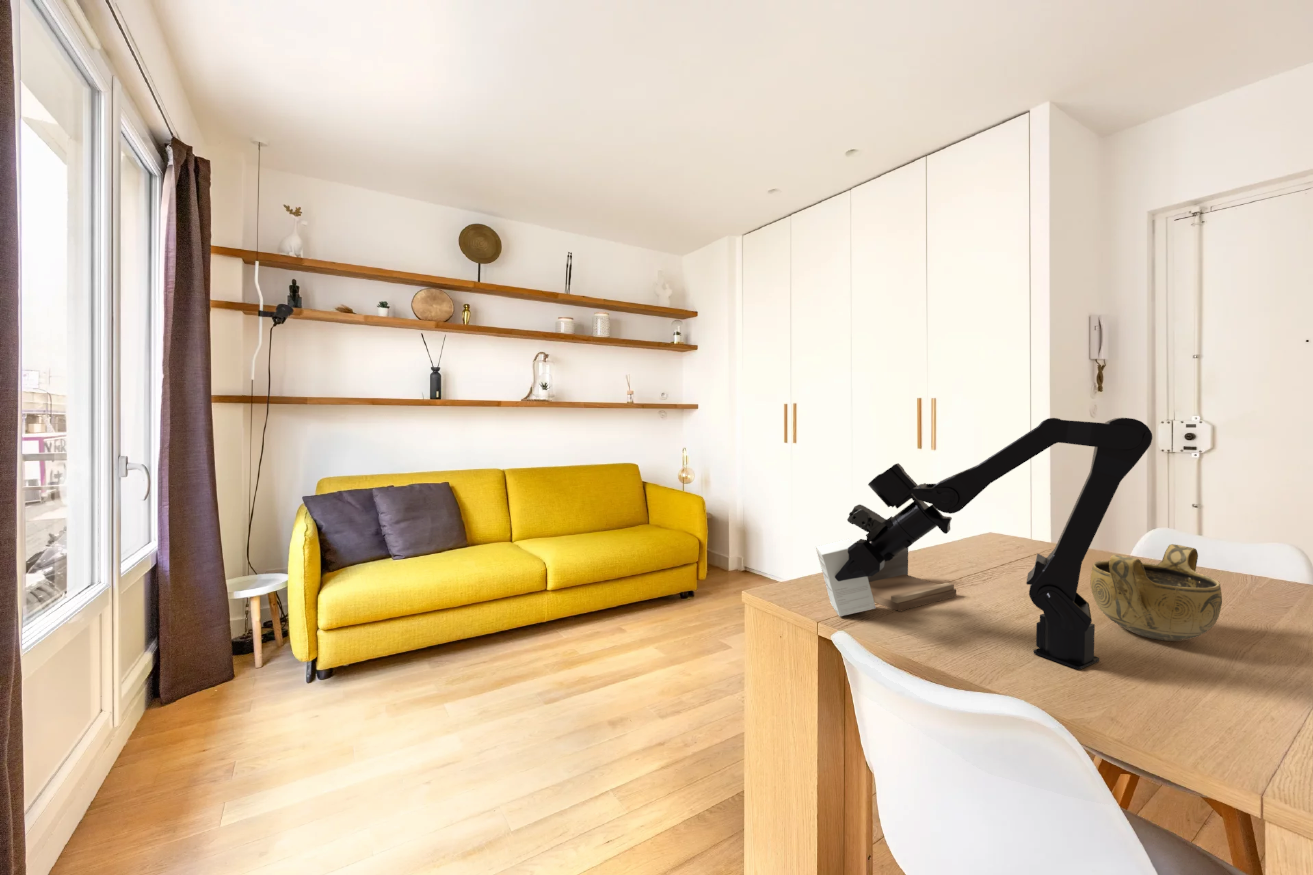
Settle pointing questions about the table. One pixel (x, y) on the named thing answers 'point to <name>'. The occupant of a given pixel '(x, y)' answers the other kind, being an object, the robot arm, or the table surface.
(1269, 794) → the table surface
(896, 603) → the ledge
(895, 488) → the robot arm
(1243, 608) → the table surface
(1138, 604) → the ceramic bowl
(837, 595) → the supplement box
